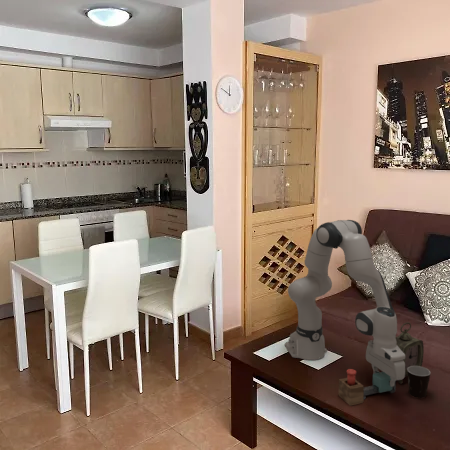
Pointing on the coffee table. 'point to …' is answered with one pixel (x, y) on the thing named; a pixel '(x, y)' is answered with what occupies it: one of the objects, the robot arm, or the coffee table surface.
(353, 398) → the wooden box
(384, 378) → the block
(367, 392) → the rail
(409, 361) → the tabletop clock
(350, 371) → the red rounded peg
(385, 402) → the coffee table surface
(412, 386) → the coffee mug
